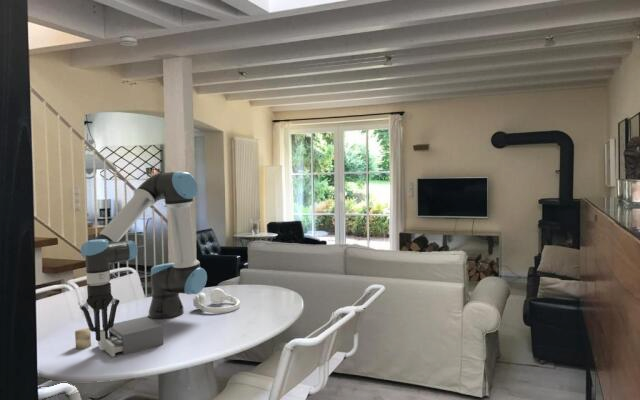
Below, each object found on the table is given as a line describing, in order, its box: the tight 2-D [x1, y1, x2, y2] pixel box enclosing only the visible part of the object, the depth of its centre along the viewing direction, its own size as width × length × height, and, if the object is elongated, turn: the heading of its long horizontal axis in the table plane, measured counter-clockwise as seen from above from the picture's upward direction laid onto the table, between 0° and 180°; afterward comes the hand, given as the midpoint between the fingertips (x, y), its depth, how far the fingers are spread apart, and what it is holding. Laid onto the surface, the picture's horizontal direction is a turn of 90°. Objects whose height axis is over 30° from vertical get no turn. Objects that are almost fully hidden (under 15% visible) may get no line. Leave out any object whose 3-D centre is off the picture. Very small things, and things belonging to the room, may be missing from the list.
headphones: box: [192, 287, 241, 314], centre depth 214 cm, size 20×8×20 cm
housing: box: [108, 316, 164, 356], centre depth 168 cm, size 14×17×7 cm
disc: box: [112, 336, 123, 346], centre depth 166 cm, size 8×8×2 cm
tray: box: [97, 336, 123, 358], centre depth 166 cm, size 14×17×4 cm
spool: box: [74, 327, 92, 350], centre depth 167 cm, size 5×5×6 cm
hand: (102, 348), depth 161 cm, fingers closed
